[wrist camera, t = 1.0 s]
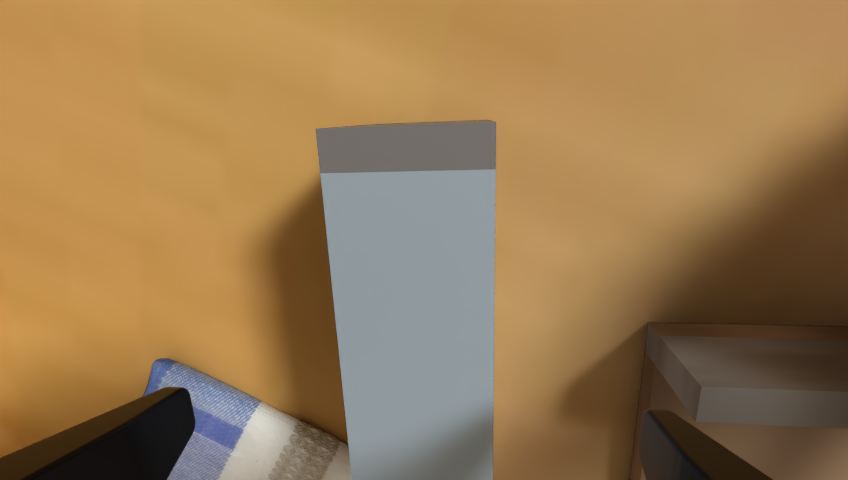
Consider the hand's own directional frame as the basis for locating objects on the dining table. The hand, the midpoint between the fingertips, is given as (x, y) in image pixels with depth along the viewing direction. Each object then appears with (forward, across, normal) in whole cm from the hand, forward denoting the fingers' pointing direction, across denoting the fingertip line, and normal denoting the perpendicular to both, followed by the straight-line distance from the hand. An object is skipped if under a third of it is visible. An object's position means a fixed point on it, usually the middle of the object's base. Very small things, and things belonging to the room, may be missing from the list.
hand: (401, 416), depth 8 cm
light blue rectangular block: (+9, 0, 0) cm, 9 cm away
